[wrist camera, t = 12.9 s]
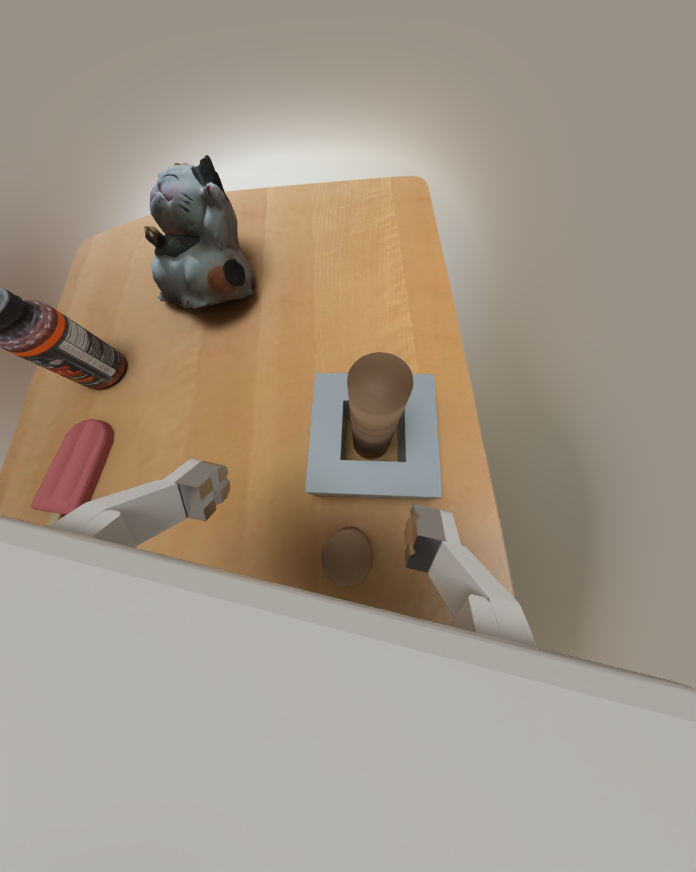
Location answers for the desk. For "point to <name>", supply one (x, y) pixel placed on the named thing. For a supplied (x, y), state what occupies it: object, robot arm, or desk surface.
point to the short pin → (347, 557)
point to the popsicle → (75, 469)
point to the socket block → (373, 478)
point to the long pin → (377, 401)
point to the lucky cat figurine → (196, 239)
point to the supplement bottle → (57, 342)
